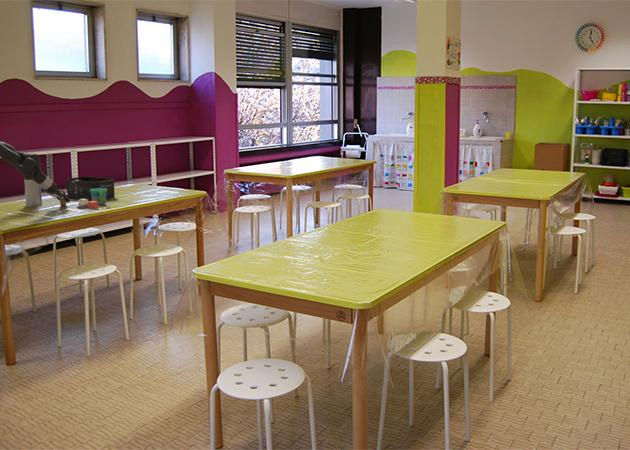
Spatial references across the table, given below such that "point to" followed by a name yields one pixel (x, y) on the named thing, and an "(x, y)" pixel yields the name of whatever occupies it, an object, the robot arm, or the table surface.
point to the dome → (83, 202)
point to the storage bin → (88, 187)
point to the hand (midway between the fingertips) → (65, 201)
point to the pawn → (63, 204)
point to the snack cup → (99, 195)
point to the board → (90, 205)
